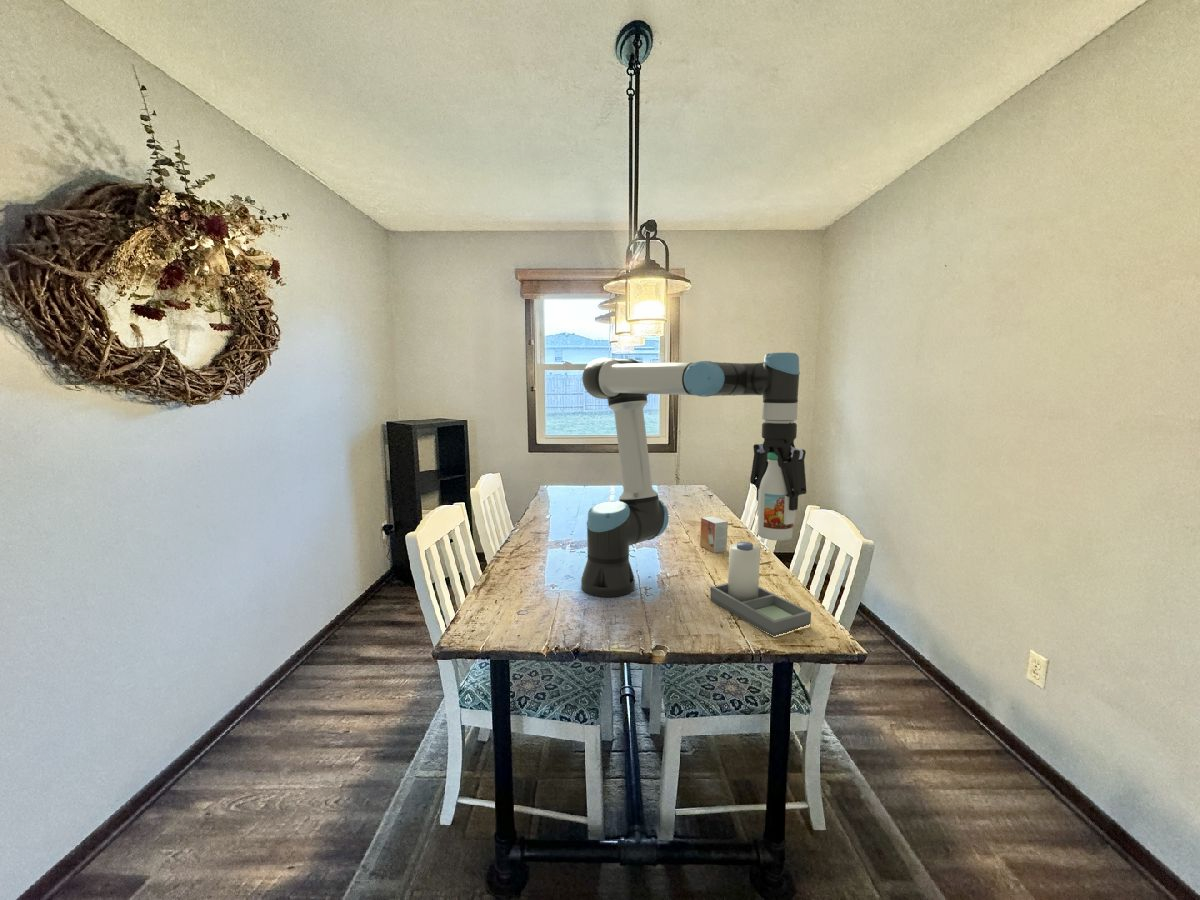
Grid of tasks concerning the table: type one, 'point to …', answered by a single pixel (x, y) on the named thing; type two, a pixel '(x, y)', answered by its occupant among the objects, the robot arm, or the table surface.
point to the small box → (713, 534)
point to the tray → (763, 610)
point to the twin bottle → (743, 571)
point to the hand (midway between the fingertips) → (775, 519)
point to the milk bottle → (773, 503)
